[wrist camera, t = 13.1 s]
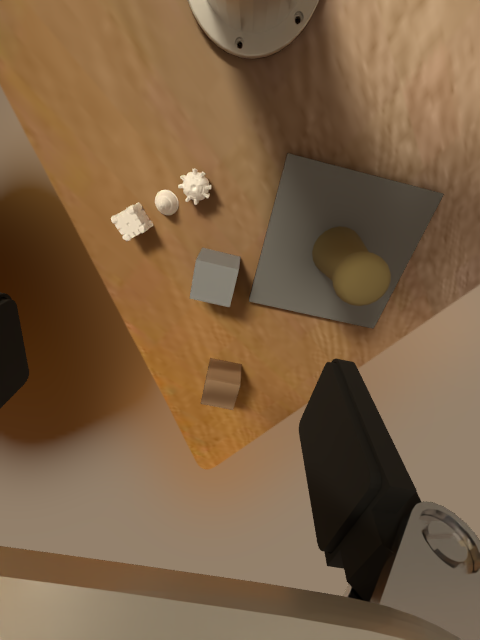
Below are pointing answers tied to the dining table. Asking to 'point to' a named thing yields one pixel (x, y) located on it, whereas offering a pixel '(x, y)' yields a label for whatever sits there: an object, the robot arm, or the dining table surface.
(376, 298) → the olive lobed rounded piece
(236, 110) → the dining table surface
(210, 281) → the slate-grey block
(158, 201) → the game pieces
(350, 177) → the mat
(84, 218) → the dining table surface
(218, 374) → the walnut block
